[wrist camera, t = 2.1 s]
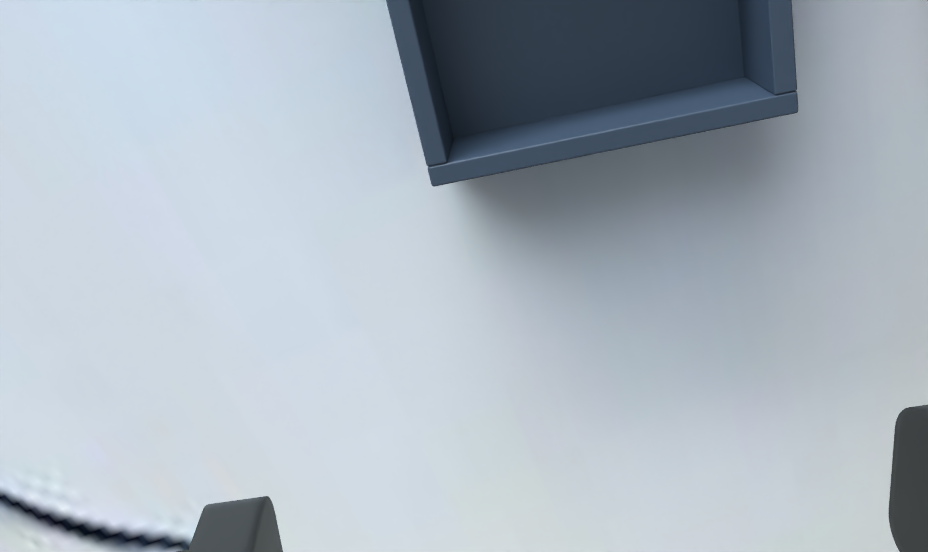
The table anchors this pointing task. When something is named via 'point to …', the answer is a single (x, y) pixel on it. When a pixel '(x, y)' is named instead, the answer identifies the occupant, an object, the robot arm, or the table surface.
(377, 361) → the table surface
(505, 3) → the bin
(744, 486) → the table surface
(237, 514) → the robot arm
